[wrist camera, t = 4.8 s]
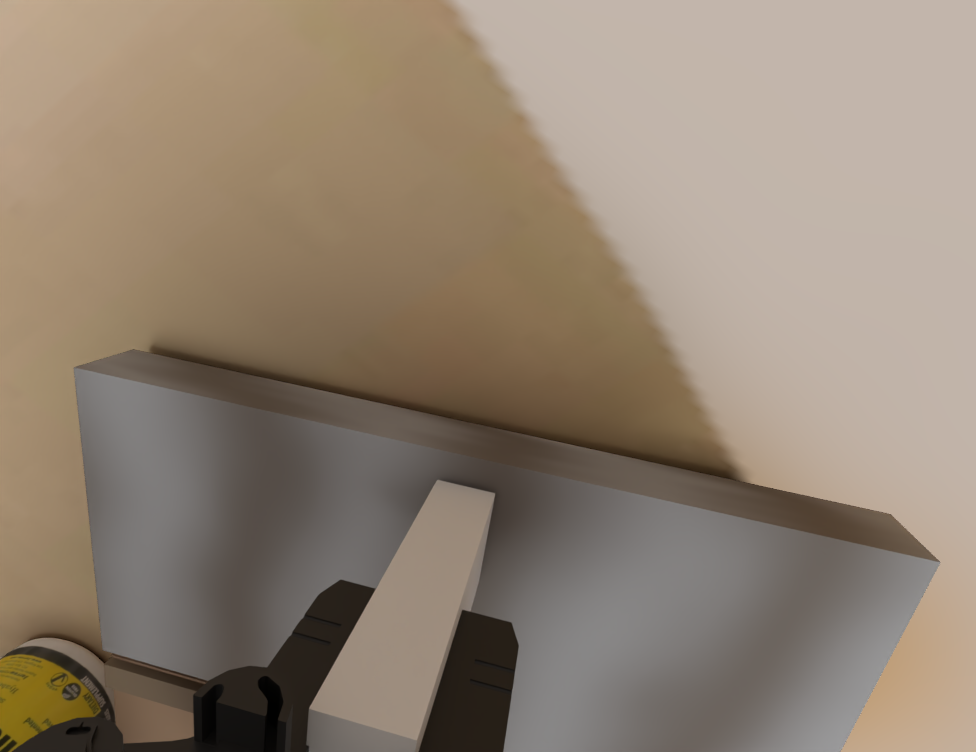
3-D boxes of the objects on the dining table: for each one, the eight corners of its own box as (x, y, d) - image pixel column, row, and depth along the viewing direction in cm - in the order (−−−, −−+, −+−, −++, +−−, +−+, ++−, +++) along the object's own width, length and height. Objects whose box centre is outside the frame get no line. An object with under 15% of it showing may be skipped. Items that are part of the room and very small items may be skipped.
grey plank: (149, 607, 19) (102, 650, 17) (133, 349, 16) (74, 367, 14) (765, 778, 17) (788, 849, 15) (890, 514, 14) (940, 562, 12)
